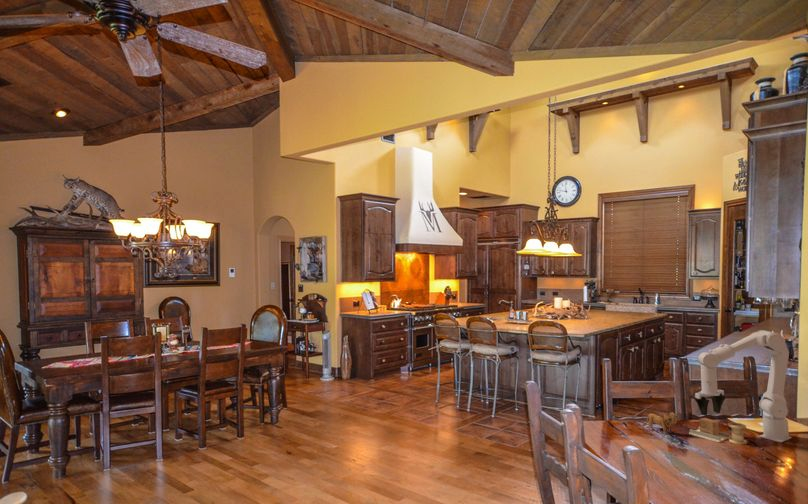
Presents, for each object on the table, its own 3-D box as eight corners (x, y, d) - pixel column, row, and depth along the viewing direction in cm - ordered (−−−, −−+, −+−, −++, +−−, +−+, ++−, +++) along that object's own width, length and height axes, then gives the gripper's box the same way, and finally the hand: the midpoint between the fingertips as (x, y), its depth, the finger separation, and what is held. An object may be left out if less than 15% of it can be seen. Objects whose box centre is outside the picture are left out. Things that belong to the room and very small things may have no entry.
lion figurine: (679, 433, 210) (679, 412, 210) (674, 436, 206) (674, 415, 206) (644, 425, 221) (644, 405, 221) (639, 428, 217) (639, 407, 218)
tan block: (705, 431, 209) (705, 417, 209) (719, 436, 204) (718, 421, 204) (699, 433, 208) (699, 418, 208) (713, 437, 202) (712, 422, 203)
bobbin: (733, 438, 202) (732, 421, 203) (749, 442, 197) (748, 425, 197) (725, 441, 199) (725, 424, 199) (742, 445, 194) (741, 428, 194)
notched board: (700, 430, 213) (700, 425, 213) (730, 438, 203) (730, 433, 203) (689, 434, 209) (688, 429, 209) (718, 442, 198) (718, 437, 198)
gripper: (705, 385, 200) (706, 418, 200) (730, 381, 205) (731, 414, 205) (690, 381, 207) (691, 413, 206) (714, 378, 212) (715, 409, 211)
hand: (710, 413), depth 206 cm, fingers open, 7 cm apart
